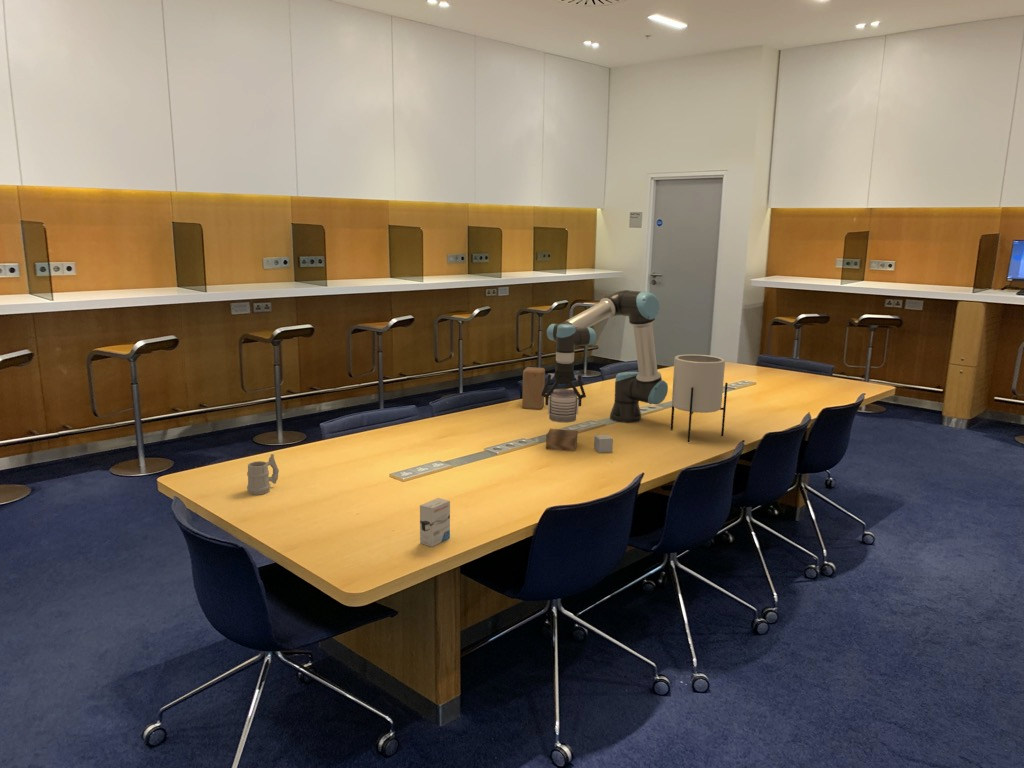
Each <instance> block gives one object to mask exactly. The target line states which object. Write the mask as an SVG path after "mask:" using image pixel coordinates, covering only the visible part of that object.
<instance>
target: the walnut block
mask: <svg viewBox="0 0 1024 768" xmlns="http://www.w3.org/2000/svg"><path fill="white" fill-rule="evenodd" d="M578 431H579V430H577V429H575V430H574V429H564V428H563V429H560V428H549V430H548V432H547V433H546V436H545V437H546V438H545V450H552V451H555V450H556V451H567V452H576V449H577V448H576V447H577V446H578V438H579V437H578V435H579V433H578Z"/></svg>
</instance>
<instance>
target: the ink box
mask: <svg viewBox="0 0 1024 768" xmlns="http://www.w3.org/2000/svg"><path fill="white" fill-rule="evenodd" d="M450 538H451V501H450V500H448V499H445V498H444V499H443V498H440V497H437V498H435V499H433V500H430V501H427V502H424V503H423V504H419V544H422V545H425V546H428V547H431V548H433V547H435V546H437V545H439V544H440V543H442V542H444V541H446V540H448V539H450Z"/></svg>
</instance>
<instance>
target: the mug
mask: <svg viewBox="0 0 1024 768" xmlns="http://www.w3.org/2000/svg"><path fill="white" fill-rule="evenodd" d="M274 456H275V454H274V453H271V454H270V457H269V458H268V461H262V460H261V461H253V462H249V463H247V473H246V475H247V486H246V490H247V492H248V494H249V495H252V496H257V495H259V496H260V495H265V494H268V493H269V492H270V491H271V484H270V482H271V483H272V484H274V485H275V484H277V481H278V480H279V468H278V465H277V463H276V460H275V457H274ZM269 466H270V467H271V468H272V475H271V476H269V474H270V471H269Z"/></svg>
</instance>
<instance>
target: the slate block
mask: <svg viewBox="0 0 1024 768" xmlns="http://www.w3.org/2000/svg"><path fill="white" fill-rule="evenodd" d="M593 439H594V440H593V441H594V442H593V450H594V449H595V450H594V451H596V452H597V453H598V454H605V453H606V452H610V453H613V450H614V449H613V448H614V446H613V445H614V438H613V437H612V436H610V434H598V435H597V434H594V438H593Z"/></svg>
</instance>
